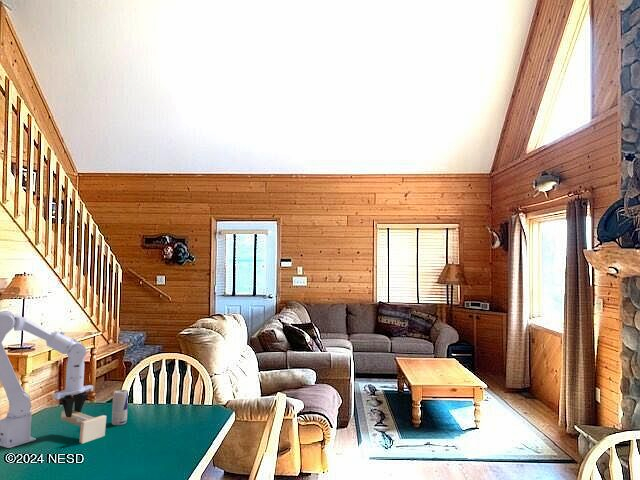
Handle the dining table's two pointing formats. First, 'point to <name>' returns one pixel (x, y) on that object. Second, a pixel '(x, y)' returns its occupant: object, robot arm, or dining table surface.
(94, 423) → the tile
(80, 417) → the grey and tan bar
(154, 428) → the dining table surface
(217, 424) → the dining table surface
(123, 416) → the energy drink
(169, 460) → the dining table surface
